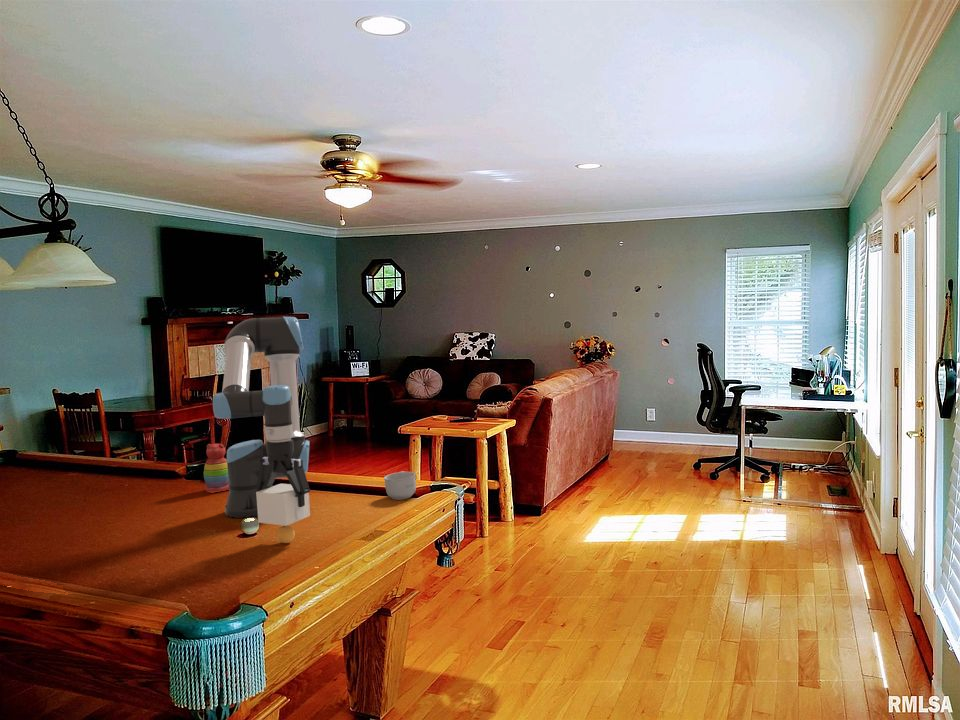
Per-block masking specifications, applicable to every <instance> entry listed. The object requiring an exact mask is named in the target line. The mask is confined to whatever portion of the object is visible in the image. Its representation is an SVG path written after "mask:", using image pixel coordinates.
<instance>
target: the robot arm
mask: <svg viewBox="0 0 960 720" xmlns="http://www.w3.org/2000/svg"><path fill="white" fill-rule="evenodd" d="M223 348H224V349H223V350H224V353H225V355H226V356H225V363H224V365H225V366H224V374H223V381H222V390H221V392H220V393H215V394H214V395H213V397H212V410H213V414H214V417H215V418H216V419H218V420H219V419H228V420H231V419H237V418H239V419H240V418H252V417H263V418H264V430H265V431H264V432H265V440H267V441H266V443H264V442H263V440H261V439H251V440H247V441H242V442H239V443H235V444H233V445H232V446H229V447H228V449H226V460H227V461H226V462H227V467H228V481H229V491H228V493H227V494H228V495H227V500H226V505H225V506H224V515H225V514H226V515H227V516H226V515H225V516H226V517H228V516H229V517H228V518H232V517H235V518H234V519H242V518H243V517H246V518H249V517H248V516H254V517H258V510H257V496H256V492H258V491H261V490H264V489H267V488H269V487H272V486H274V485H273V484H274V482H275V480H276V479H283V478H287V479H288V482H289V484H291V486H292V487H293V489H294V491H295V493H296V495H295V496H294V503H295V518H296V519H300V518H302V517H304V511H303V506H304V505H305V500H304V495H305V494H306V493H310V492H311V488H310V486H309V482H308V480H307V476H306V474H307V472H308V469H309V458H310V457H309V456H310V440H307V439H306V435H305V434H304V433H303V432H301V428H300V412H299V409H300V408H299V395H298V379H297V376H298V375H297V362H296V361H297V359H299V357H300V355H301V354H300V351H303V350H305V348H304V343H303V338H302V333H301V327H300V324H299V320H298V318H297V317H295V316H272V317H271V316H270V317H254V318H249V319H245V320H243V321H241V322H240V323H238V324H236V325H235V326H234V327H233V328H232V329H231V330H230V331H229V333H228V334H227V336H226V338H225V340H224V344H223ZM255 353H264V354H263V355H264V358H265V359H266V360H267V362H269V376H270V377H269V378H270V385H268V386H265V387H263V389H262V390H249V389H250V379H251V378H250V377H251V376H250V375H251V363H252V356H253V355H254V354H255ZM299 490H300V491H299ZM243 519H244V518H243Z"/></svg>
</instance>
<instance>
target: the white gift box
mask: <svg viewBox="0 0 960 720" xmlns="http://www.w3.org/2000/svg"><path fill="white" fill-rule="evenodd" d="M299 491H300V490H299ZM309 493H310V492H309ZM309 493H306V494H305V495H304V500H305V505H304V506H303V511H304V517H302V518H300V519H296V518H295V503H294V496H295V495H296V493H295V491H294V489H293V487H292V486H291V484H290V483H278V484H275V485H272V487H269V488H267V489H264V490H261V491H258V492H256V496H257V510H258V516H257V523H259V524H265V525H266V524H269V525H276V526H291V525H292V524H294V523H296V522H299V521H301V520H304V519H305V518H308V517H310V516H311V509H310V508H311V507H310V494H309Z"/></svg>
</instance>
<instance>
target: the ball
mask: <svg viewBox="0 0 960 720" xmlns="http://www.w3.org/2000/svg"><path fill="white" fill-rule="evenodd" d="M295 533H296V532H295V530H294V528H293V526H291V525H287V526H284V525H281V526H280V527H279V528H278V530H277V532H276V538H277V540H278V542H280V543H282V544H289V543H291V542H292V541H293V540H294V538H295V536H296V534H295Z"/></svg>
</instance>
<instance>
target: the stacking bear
mask: <svg viewBox="0 0 960 720" xmlns="http://www.w3.org/2000/svg"><path fill="white" fill-rule="evenodd" d="M205 453H206V457H207V458H208V459H207V460H206V461H205V463H204V469H203V479H204V482H205V486H206V487H205V491H206V490H208V491H223V490H228V489H229V481H228V467H227V462H226V461H227V458H226V457H225V455H226V453H227V449H226V447H225V446H224V445H223V443H213V444H211V443H208V444H207V445H206V451H205Z"/></svg>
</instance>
